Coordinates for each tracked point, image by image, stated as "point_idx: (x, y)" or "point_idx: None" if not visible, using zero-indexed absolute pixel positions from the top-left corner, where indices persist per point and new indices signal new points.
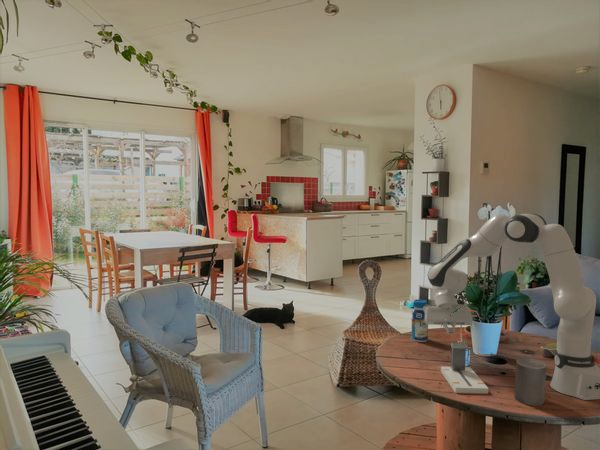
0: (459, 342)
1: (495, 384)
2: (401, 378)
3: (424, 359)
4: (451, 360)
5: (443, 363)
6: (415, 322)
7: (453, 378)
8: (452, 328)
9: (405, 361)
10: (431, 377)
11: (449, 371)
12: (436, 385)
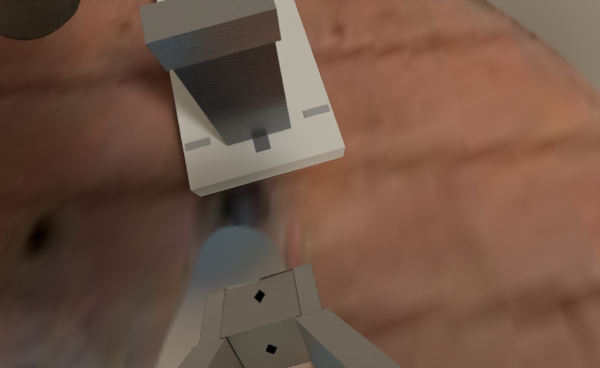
0: (198, 28)
1: (116, 89)
2: (501, 21)
3: (454, 316)
4: (286, 104)
5: (335, 280)
6: None
7: (282, 25)
8: (230, 327)
9: (554, 240)
10: (378, 71)
11: (300, 95)
12: (350, 5)
